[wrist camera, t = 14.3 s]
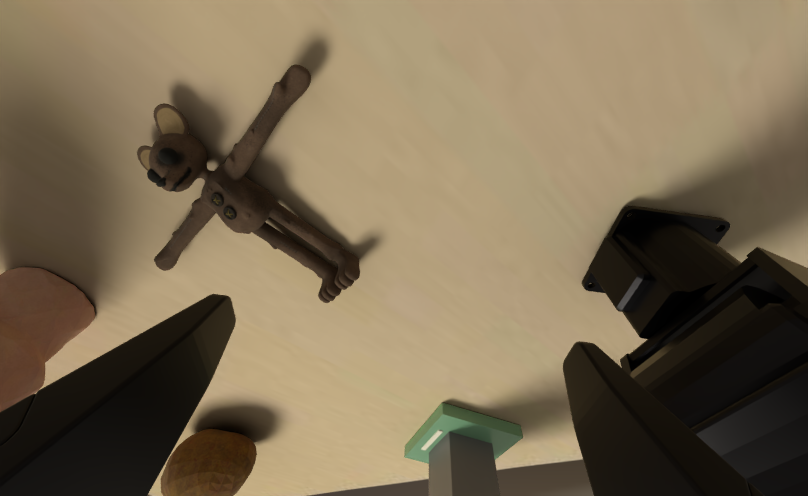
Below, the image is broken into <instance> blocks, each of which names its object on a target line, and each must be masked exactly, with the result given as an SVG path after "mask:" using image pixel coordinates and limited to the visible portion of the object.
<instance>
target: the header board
mask: <svg viewBox="0 0 808 496" xmlns="http://www.w3.org/2000/svg"><path fill="white" fill-rule="evenodd" d="M448 432H453V433H457V434H460V435H464V436H467V437H471V438H474V439H478V440H481V441H485V442H488V443H492V445H493V452H494V458H495V459H497V458H498V457H499V456H500V455H502V454H503V453H504V452H505V451H507V450H508V449H509V448H510V447H512V446H513V445H514V444H515V443H517V442H518V441H519V440H520V439H522V438H523V435H522V431H521V426H520V425H517V424H513V423H510V422H507V421H503V420H500V419H496V418H493V417H490V416H486V415H483V414H479V413H476V412H473V411H469V410H466V409H462V408H459V407H456V406H452V405H449V404H445V403H441V405H440V406H439V407H438V408H437V409H436V410H435V412H434V413H433V414H432V415H431V416H430V417H429V419H428V420H427V421H426V422H425V423H424V424H423V426H422V427H421V428H420V429H419V430H418V432H417V433H416V434H415V435H414V436H413V437H412V439H411V440H410V441H409V442H408V443H407V444H406V446H405V456H404V457H405V458H409V459H413V460H417V461H421V462H424V463H428V464H429V452H430V451H431V450H432V448H433V447H434V446H435V445H436V444H437V443H438V442H439V441H440V440H441V439H442V438H443V437H444V436H445V435H446V434H447V433H448Z"/></svg>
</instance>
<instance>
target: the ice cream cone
mask: <svg viewBox="0 0 808 496" xmlns="http://www.w3.org/2000/svg"><path fill="white" fill-rule="evenodd" d="M94 318H95V312H94V307H93V305H92V304H91V303H90V302H89V300H88V299H87V298H86V296H85V294H84V293H83V292H82V291H81V290H79V289H78V288H77V287H76V286H75V285H73V284H71V283H69V282H67V281H66V280H64V279H62V278H60V277H59V276H57V275H55V274H52V273H50V272H48V271H46V270H45V269H41V268H30V267H20V268H15V269H11V270H7V271H6V272H4V273H3V274H1V275H0V412H1V411H3V410H4V409H6V408H8V407H10V406H12V405H13V404H15V403H17V402H19V401H21V400H22V399H24V398H26V397H28V396H30V395H31V394H34V393H36V392H37V391H38V390H39V389H40V388H41V387H42V386H43V384H44V380H45V362H47V361H48V360H49V359H50V358H51V357H53V356H54V355H55V354H56V353H57V352H58V351H59V350H60V349H61V348H62V347H63V346H64V345H65V344H66V343H67V342H68V341H70V340H71V339H73V338H74V337H76V336H77V335H78V334H79V333H80V332H82V331H83V330H84V329H85V328H87V327H88V326H89V325H90V323H91V322H92V321H93V319H94Z"/></svg>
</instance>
